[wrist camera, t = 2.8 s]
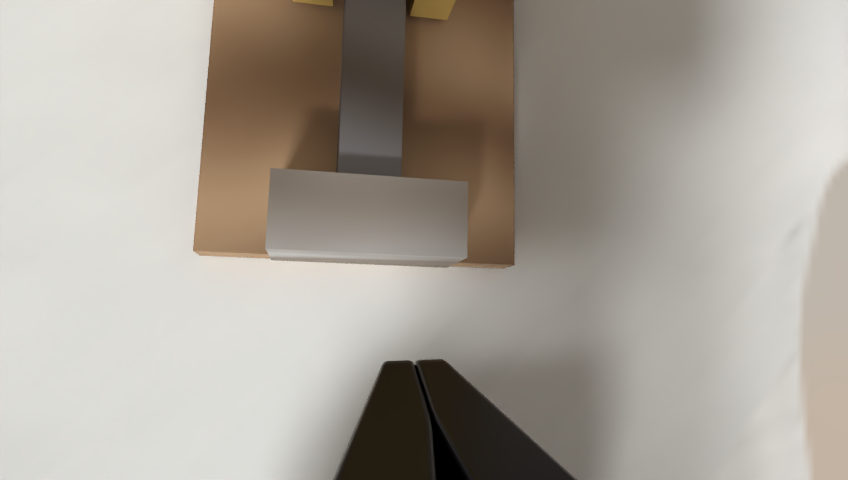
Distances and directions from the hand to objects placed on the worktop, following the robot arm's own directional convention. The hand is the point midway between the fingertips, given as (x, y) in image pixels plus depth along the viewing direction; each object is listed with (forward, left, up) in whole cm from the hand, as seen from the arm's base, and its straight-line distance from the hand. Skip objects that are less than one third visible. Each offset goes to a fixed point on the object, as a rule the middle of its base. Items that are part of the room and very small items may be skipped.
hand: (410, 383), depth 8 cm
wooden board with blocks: (+10, -11, -13) cm, 20 cm away
